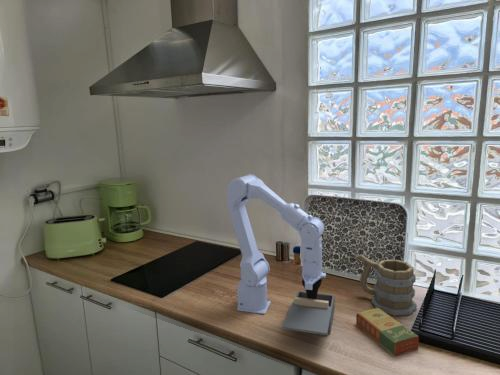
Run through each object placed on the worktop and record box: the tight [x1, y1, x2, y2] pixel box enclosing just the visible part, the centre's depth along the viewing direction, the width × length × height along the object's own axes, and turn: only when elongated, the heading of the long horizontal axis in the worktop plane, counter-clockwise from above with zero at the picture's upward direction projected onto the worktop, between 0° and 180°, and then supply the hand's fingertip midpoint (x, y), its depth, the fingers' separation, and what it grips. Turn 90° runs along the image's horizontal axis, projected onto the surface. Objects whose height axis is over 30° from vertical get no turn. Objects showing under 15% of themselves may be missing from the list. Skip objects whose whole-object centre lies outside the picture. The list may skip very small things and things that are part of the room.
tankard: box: [354, 253, 417, 317], centre depth 118 cm, size 20×13×15 cm, turn 45°
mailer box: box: [292, 290, 336, 335], centre depth 110 cm, size 12×14×5 cm
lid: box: [281, 296, 332, 336], centre depth 101 cm, size 12×14×2 cm
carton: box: [355, 307, 420, 357], centre depth 100 cm, size 8×16×4 cm, turn 20°
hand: (312, 301), depth 108 cm, fingers closed
